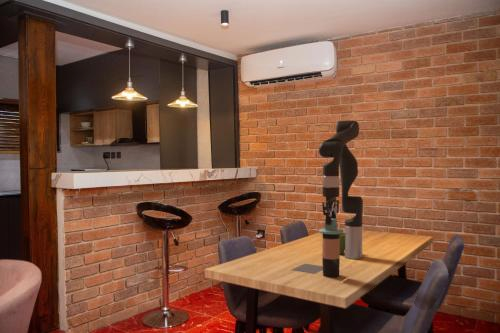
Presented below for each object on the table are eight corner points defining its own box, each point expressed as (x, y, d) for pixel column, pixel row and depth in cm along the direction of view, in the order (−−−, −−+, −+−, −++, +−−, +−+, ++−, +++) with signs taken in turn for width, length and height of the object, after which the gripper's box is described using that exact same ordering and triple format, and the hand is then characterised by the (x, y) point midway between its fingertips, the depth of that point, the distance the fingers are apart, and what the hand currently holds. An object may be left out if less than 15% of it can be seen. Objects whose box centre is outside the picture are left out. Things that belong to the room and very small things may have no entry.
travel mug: (337, 274, 188) (337, 230, 188) (341, 279, 180) (341, 233, 180) (320, 274, 187) (320, 231, 187) (324, 279, 180) (324, 233, 180)
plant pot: (348, 256, 225) (348, 235, 225) (327, 255, 228) (327, 235, 228) (348, 251, 237) (348, 232, 237) (327, 250, 239) (327, 231, 239)
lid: (324, 229, 191) (324, 216, 191) (347, 231, 185) (347, 218, 185) (314, 232, 182) (314, 219, 182) (337, 235, 176) (337, 221, 176)
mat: (304, 264, 206) (304, 263, 206) (327, 268, 199) (327, 266, 199) (290, 271, 193) (290, 269, 193) (314, 275, 186) (314, 273, 186)
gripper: (329, 185, 192) (329, 221, 192) (316, 186, 180) (316, 225, 180) (344, 185, 187) (344, 222, 187) (332, 187, 175) (332, 226, 176)
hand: (330, 223), depth 184 cm, fingers open, 5 cm apart
